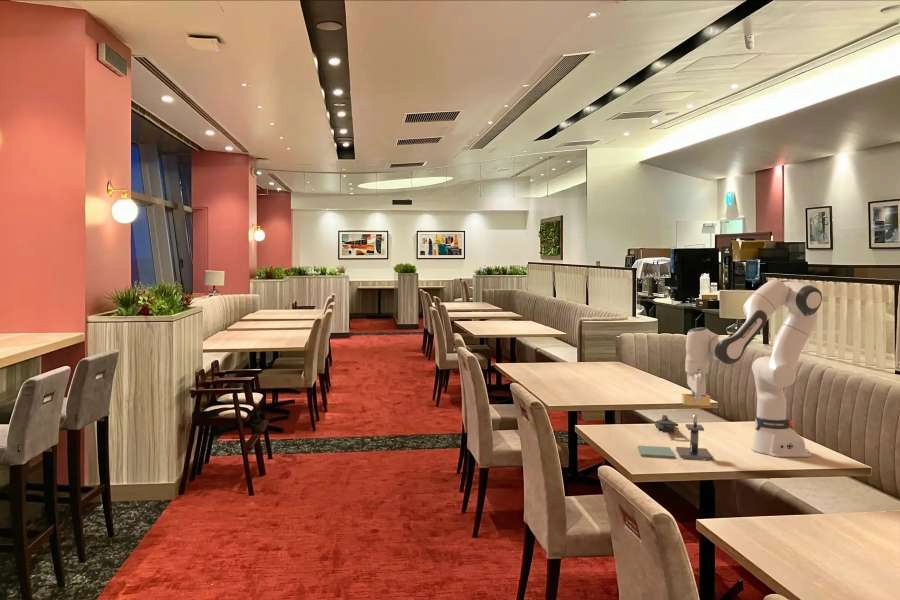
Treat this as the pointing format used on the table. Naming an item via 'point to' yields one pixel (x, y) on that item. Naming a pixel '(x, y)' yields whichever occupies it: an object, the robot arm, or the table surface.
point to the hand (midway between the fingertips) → (696, 401)
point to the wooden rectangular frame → (690, 400)
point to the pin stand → (694, 444)
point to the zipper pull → (665, 424)
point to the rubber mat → (656, 451)
